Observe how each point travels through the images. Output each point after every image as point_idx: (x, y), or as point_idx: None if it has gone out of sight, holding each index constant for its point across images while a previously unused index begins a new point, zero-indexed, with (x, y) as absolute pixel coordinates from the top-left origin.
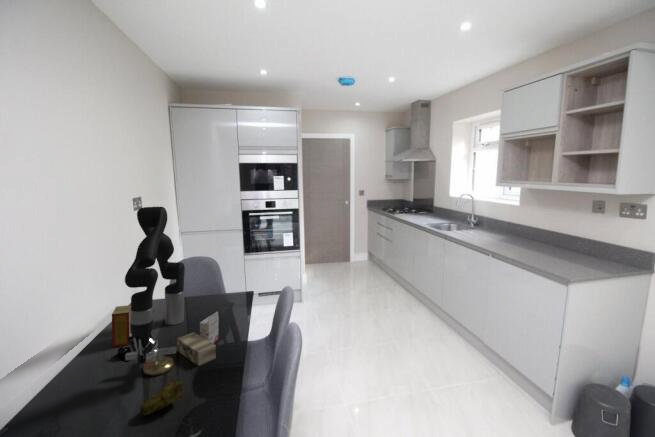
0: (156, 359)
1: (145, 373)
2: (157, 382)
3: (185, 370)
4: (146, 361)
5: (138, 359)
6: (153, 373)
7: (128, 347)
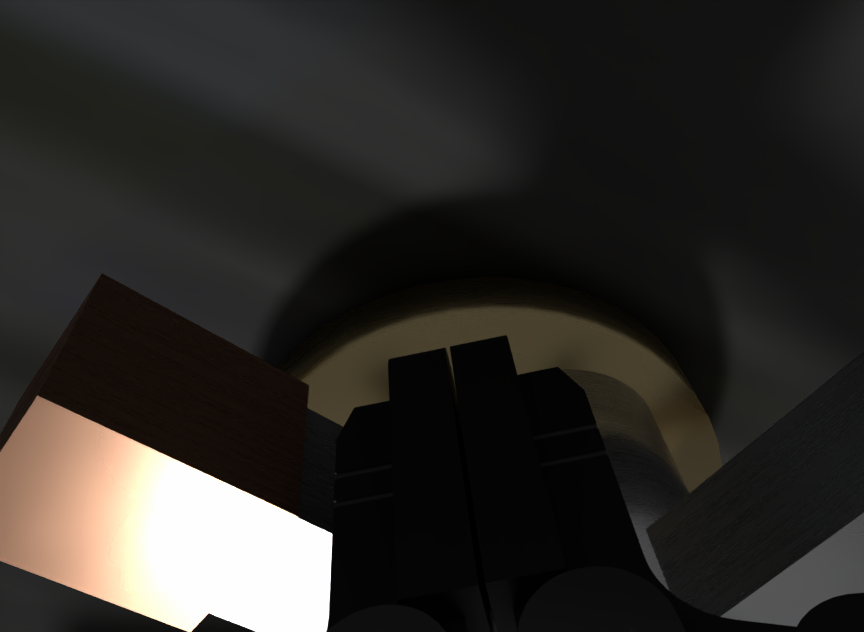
0: None
1: (477, 286)
2: (75, 283)
3: (93, 623)
4: (169, 499)
5: (498, 416)
6: (310, 359)
7: None
